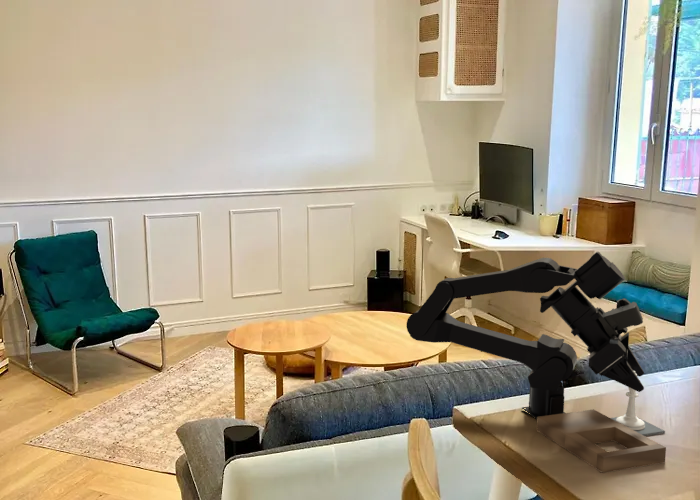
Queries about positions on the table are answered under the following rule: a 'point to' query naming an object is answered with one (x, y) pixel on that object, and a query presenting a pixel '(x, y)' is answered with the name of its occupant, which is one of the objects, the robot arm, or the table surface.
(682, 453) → the table surface
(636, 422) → the chess piece
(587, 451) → the brown slab with hole
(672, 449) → the table surface
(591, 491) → the table surface
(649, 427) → the rubber mat
